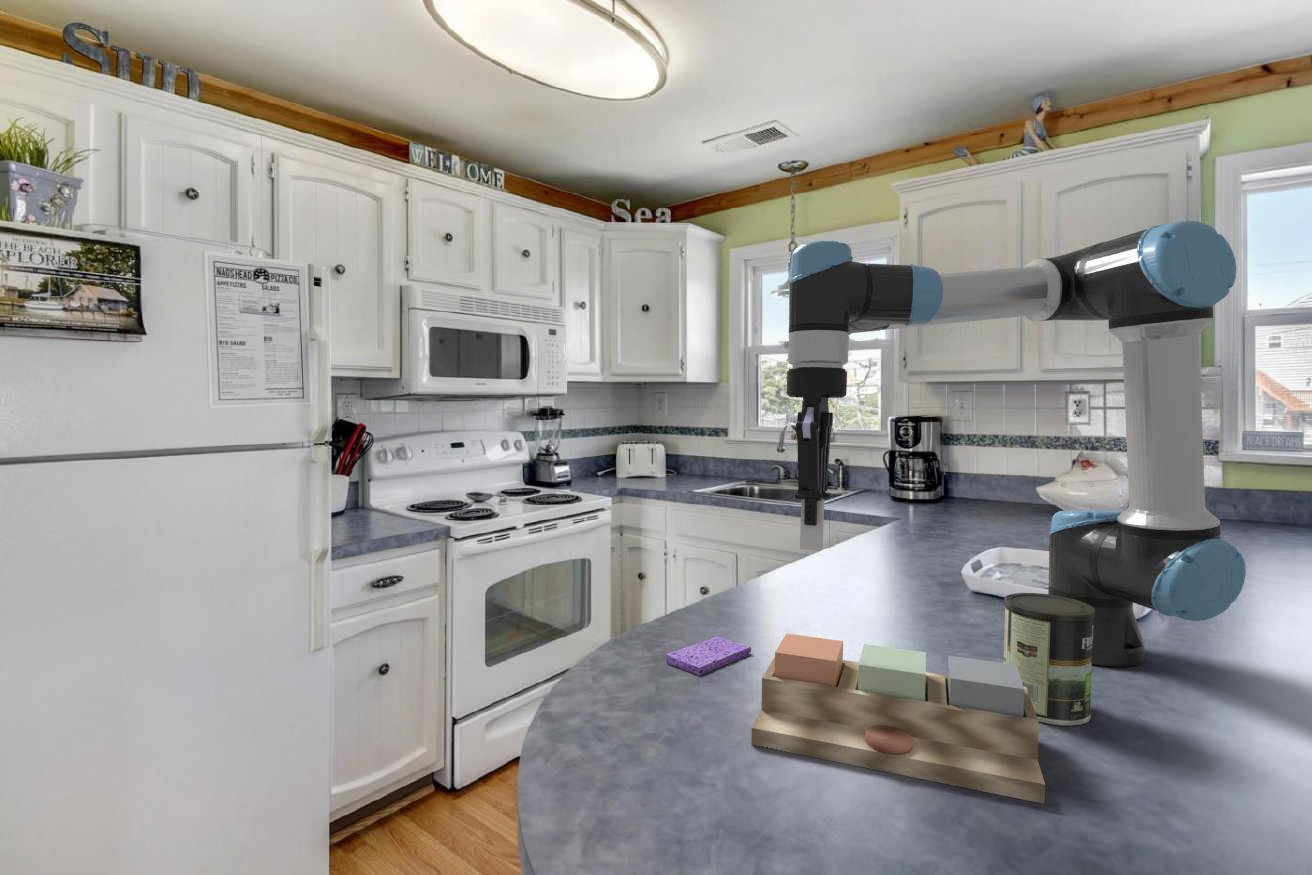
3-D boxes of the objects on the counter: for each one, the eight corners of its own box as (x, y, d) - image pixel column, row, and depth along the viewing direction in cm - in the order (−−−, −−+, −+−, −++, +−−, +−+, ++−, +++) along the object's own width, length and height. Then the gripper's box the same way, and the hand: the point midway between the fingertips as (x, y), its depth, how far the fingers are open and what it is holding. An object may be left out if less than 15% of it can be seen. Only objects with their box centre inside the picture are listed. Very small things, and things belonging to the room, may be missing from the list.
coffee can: (1089, 702, 90) (1094, 599, 89) (1091, 734, 81) (1096, 620, 81) (1004, 685, 95) (1007, 587, 95) (997, 713, 87) (1000, 606, 86)
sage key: (924, 691, 84) (925, 652, 83) (924, 717, 77) (925, 674, 77) (863, 681, 86) (864, 643, 86) (857, 705, 80) (858, 664, 79)
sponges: (665, 665, 103) (665, 653, 103) (717, 645, 112) (718, 634, 112) (699, 679, 98) (699, 666, 98) (751, 657, 107) (751, 645, 107)
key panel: (1024, 735, 81) (1026, 686, 81) (1044, 803, 67) (1046, 745, 67) (777, 693, 92) (778, 650, 92) (751, 744, 78) (752, 694, 78)
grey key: (1014, 705, 80) (1016, 664, 80) (1022, 733, 73) (1024, 689, 73) (947, 695, 83) (948, 655, 82) (949, 721, 76) (950, 678, 76)
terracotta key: (842, 678, 87) (843, 641, 87) (835, 701, 81) (836, 661, 80) (785, 669, 90) (786, 633, 90) (774, 691, 83) (775, 652, 83)
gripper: (797, 369, 93) (792, 537, 94) (776, 363, 81) (771, 555, 82) (853, 369, 90) (847, 542, 91) (839, 363, 78) (833, 562, 79)
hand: (811, 548), depth 87 cm, fingers closed
